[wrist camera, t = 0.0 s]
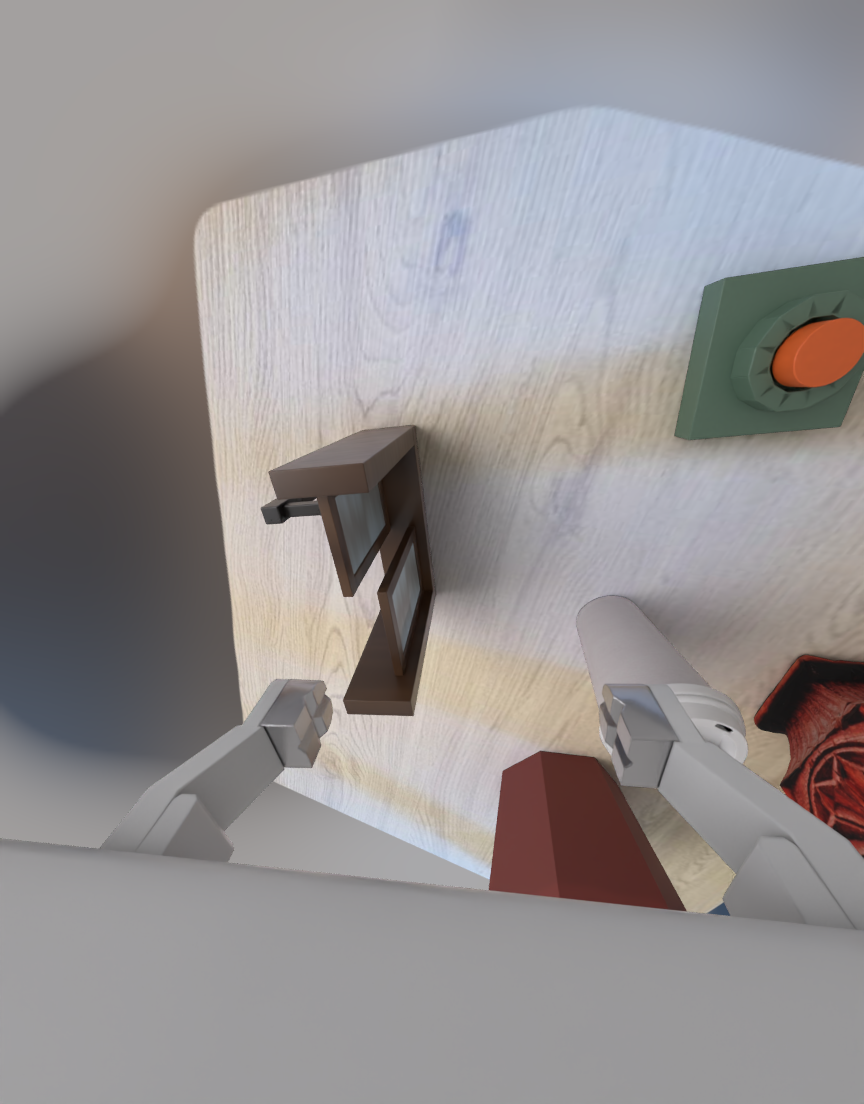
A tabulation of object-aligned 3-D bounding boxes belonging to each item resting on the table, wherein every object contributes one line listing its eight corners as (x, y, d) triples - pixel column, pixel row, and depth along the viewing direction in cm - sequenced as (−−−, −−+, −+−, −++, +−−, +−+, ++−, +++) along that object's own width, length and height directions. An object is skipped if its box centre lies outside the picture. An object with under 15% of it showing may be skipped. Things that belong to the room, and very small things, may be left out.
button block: (704, 286, 23) (744, 269, 20) (874, 260, 22) (952, 237, 18) (674, 436, 28) (702, 444, 24) (813, 423, 26) (866, 430, 23)
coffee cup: (672, 626, 36) (786, 770, 23) (591, 665, 40) (649, 808, 26) (626, 566, 33) (725, 688, 20) (544, 613, 37) (582, 743, 24)
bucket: (501, 828, 59) (517, 1101, 36) (451, 752, 50) (432, 1042, 28) (654, 814, 52) (789, 1140, 29) (625, 722, 43) (780, 1077, 21)
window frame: (361, 430, 30) (267, 471, 17) (415, 424, 30) (363, 462, 16) (393, 595, 38) (347, 714, 25) (436, 594, 38) (413, 716, 24)
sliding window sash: (319, 455, 30) (241, 493, 20) (376, 450, 29) (324, 487, 19) (339, 533, 34) (280, 598, 23) (390, 530, 33) (353, 597, 23)
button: (782, 326, 21) (806, 322, 20) (849, 318, 21) (880, 313, 19) (763, 390, 23) (784, 390, 21) (825, 383, 22) (852, 383, 21)
